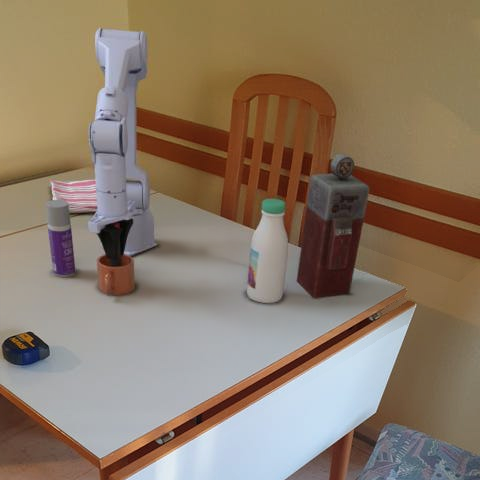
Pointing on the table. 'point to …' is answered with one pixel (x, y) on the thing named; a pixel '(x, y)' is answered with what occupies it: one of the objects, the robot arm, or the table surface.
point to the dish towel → (76, 195)
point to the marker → (118, 261)
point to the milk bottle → (268, 254)
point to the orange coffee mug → (116, 276)
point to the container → (60, 238)
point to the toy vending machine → (332, 230)
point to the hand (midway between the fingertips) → (115, 256)
